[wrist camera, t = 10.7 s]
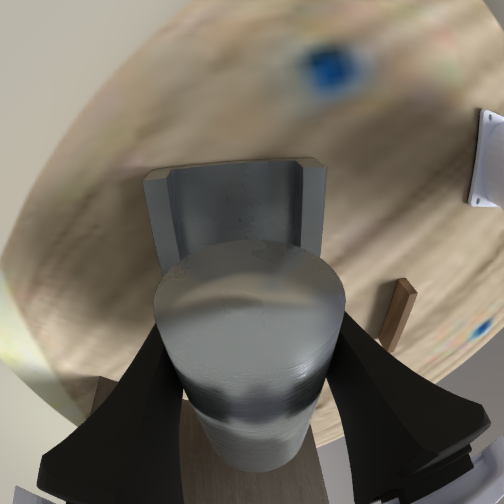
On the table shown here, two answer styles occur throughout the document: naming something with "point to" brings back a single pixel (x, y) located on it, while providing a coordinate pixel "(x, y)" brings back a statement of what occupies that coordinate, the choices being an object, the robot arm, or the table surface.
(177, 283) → the grey metal cylinder
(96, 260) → the table surface
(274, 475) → the wood block
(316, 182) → the cradle
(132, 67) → the table surface
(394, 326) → the brown piece
